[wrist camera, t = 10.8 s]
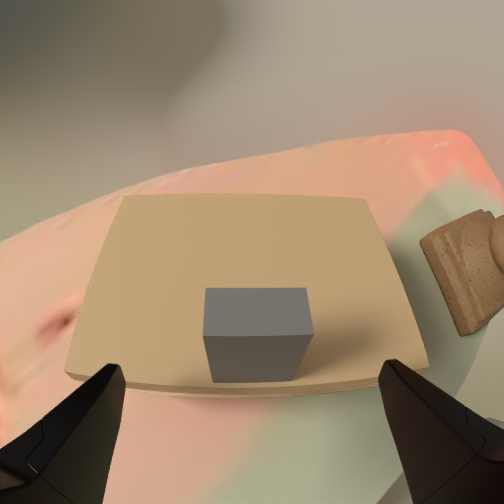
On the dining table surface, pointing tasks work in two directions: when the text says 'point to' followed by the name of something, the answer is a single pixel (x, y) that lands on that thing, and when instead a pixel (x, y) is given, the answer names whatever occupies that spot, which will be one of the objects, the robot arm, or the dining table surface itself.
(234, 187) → the dining table surface
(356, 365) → the lid
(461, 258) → the candle holder
